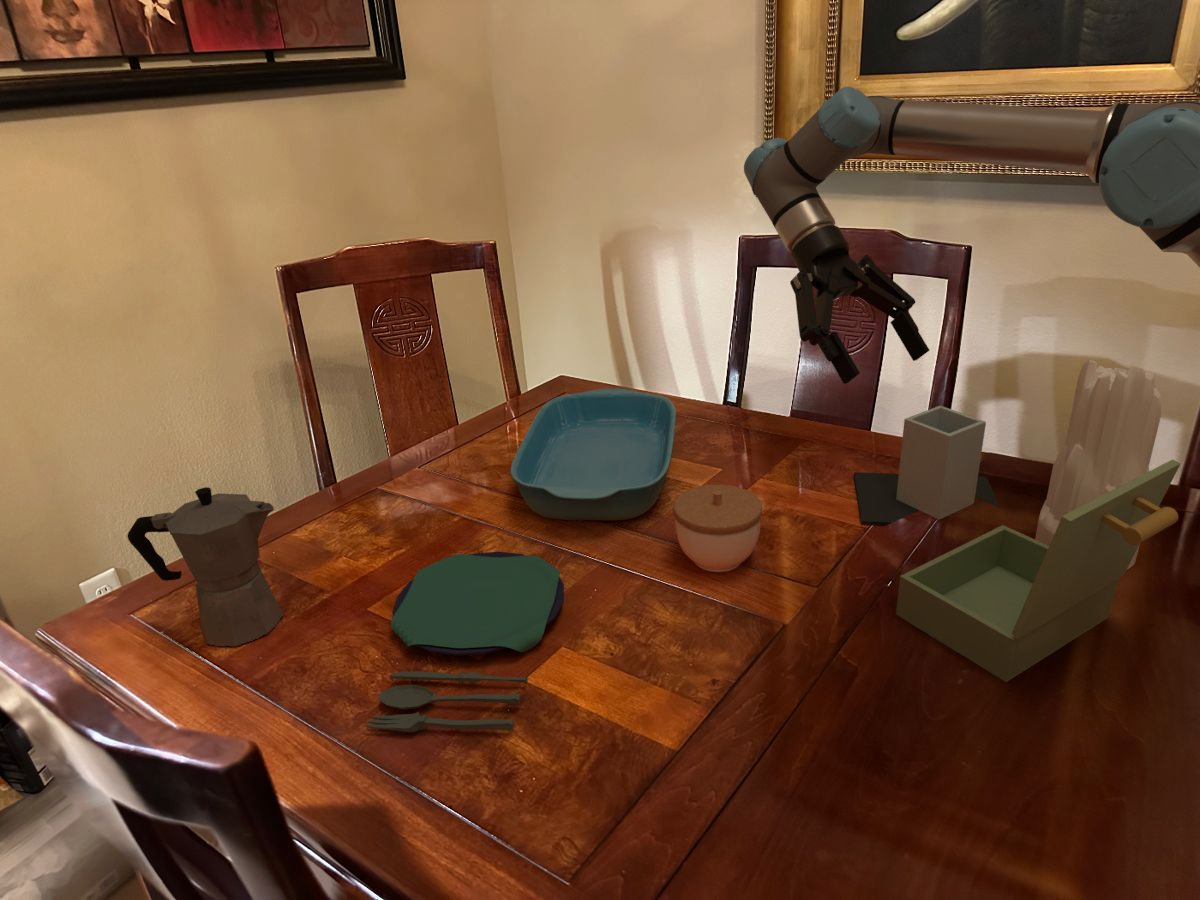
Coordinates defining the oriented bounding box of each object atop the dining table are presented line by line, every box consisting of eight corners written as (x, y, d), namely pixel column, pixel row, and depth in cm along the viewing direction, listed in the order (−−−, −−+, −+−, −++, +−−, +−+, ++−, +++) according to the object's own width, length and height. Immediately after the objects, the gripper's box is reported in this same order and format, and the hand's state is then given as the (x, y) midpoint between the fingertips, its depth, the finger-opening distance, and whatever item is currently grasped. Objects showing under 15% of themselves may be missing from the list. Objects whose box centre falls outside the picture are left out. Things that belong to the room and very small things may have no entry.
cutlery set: (577, 565, 106) (576, 549, 105) (532, 742, 79) (530, 724, 78) (425, 562, 108) (422, 547, 107) (331, 734, 82) (326, 716, 81)
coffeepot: (305, 591, 104) (271, 461, 96) (296, 638, 96) (259, 499, 88) (173, 613, 102) (128, 481, 94) (152, 662, 93) (101, 522, 86)
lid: (1061, 516, 72) (1111, 545, 68) (1172, 459, 79) (1221, 483, 76) (1011, 633, 79) (1053, 664, 76) (1116, 571, 87) (1158, 597, 84)
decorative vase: (1039, 522, 108) (1074, 336, 97) (1136, 541, 103) (1184, 346, 92) (1028, 564, 100) (1066, 366, 89) (1133, 587, 95) (1186, 380, 84)
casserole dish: (667, 541, 109) (665, 493, 106) (500, 538, 113) (494, 491, 110) (680, 425, 142) (680, 386, 139) (551, 426, 146) (547, 387, 142)
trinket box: (778, 554, 105) (780, 488, 101) (727, 594, 98) (727, 524, 94) (708, 527, 112) (708, 464, 108) (657, 562, 105) (654, 496, 101)
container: (895, 499, 115) (904, 418, 109) (930, 484, 118) (940, 405, 113) (939, 520, 109) (950, 436, 104) (973, 503, 112) (986, 421, 107)
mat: (985, 480, 119) (986, 476, 119) (1008, 531, 107) (1009, 527, 106) (853, 475, 123) (853, 472, 122) (861, 524, 110) (861, 520, 110)
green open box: (895, 619, 92) (899, 575, 90) (995, 565, 100) (1002, 524, 98) (1005, 687, 82) (1013, 640, 79) (1108, 621, 90) (1118, 577, 87)
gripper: (859, 241, 128) (930, 359, 123) (732, 270, 117) (804, 402, 112) (890, 209, 122) (966, 333, 116) (758, 237, 110) (837, 375, 105)
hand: (887, 367), depth 114 cm, fingers open, 13 cm apart
